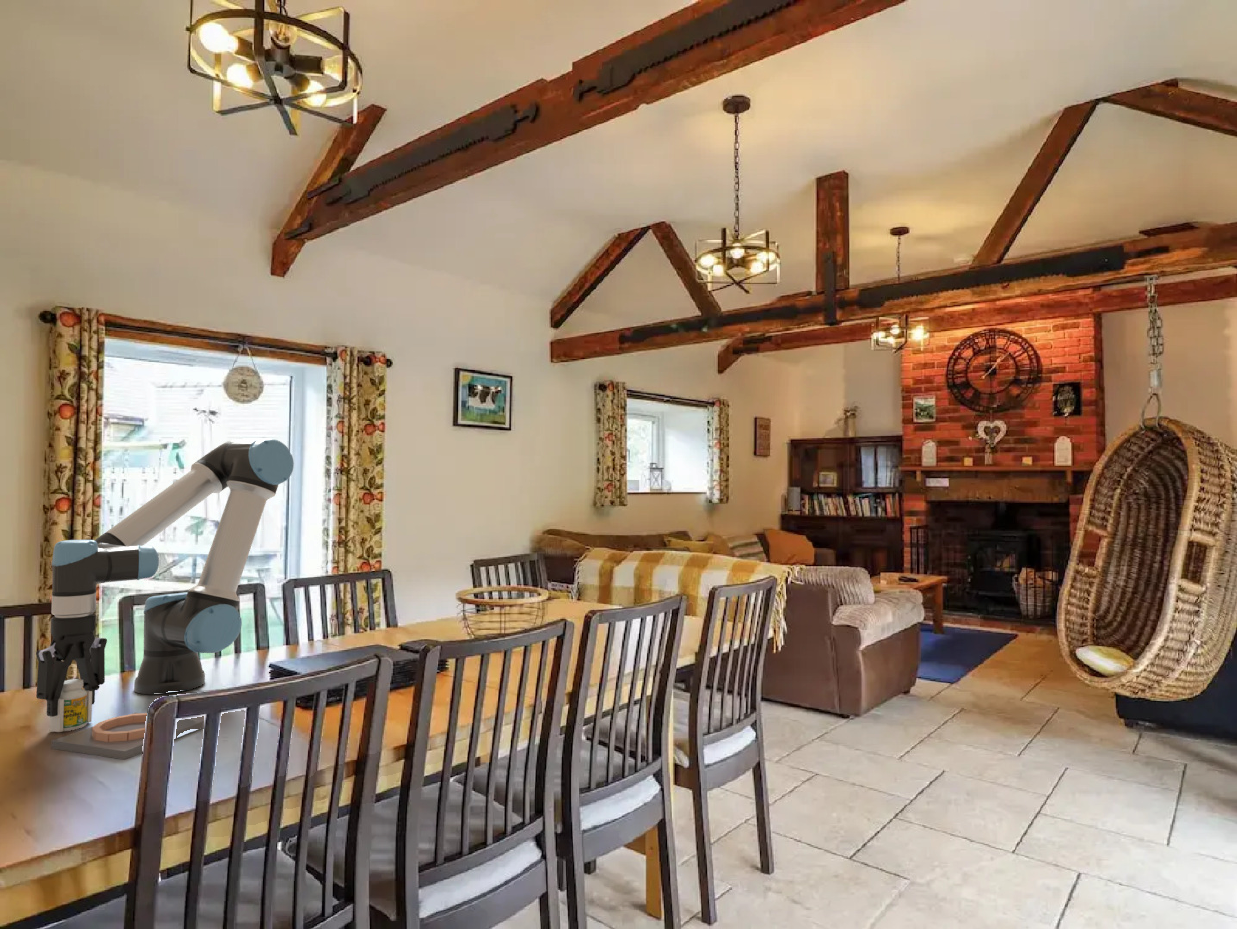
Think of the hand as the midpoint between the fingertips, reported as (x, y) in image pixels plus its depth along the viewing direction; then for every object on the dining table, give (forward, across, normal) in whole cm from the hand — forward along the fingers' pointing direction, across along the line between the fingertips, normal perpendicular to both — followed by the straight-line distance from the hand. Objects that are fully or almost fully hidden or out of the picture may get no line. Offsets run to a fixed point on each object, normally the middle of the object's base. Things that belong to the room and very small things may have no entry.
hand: (70, 725), depth 155 cm
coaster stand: (0, +1, +17) cm, 17 cm away
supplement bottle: (+1, 0, 0) cm, 1 cm away
